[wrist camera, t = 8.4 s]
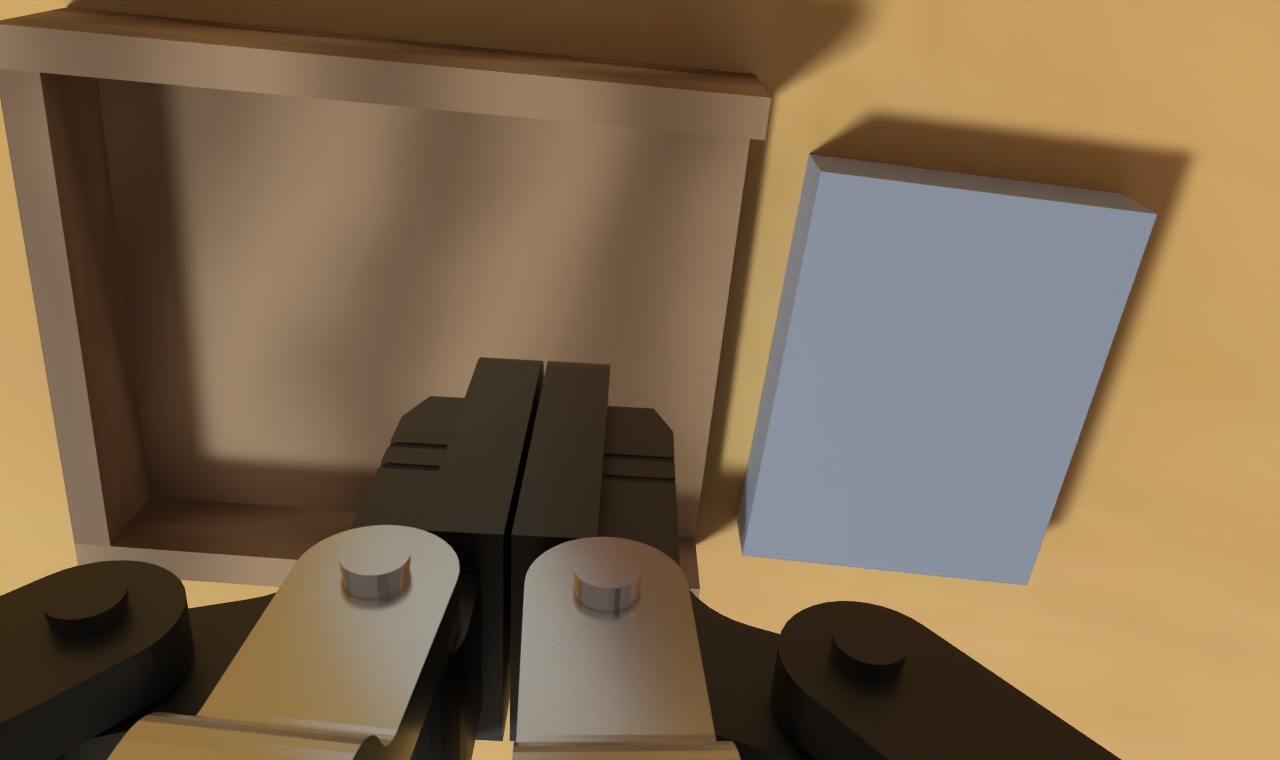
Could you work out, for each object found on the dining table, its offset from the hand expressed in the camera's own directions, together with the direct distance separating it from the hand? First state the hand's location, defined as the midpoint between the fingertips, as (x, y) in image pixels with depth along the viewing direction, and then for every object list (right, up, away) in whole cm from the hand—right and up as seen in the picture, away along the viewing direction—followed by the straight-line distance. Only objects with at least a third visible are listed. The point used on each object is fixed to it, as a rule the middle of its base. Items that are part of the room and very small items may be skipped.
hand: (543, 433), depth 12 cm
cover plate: (+9, +1, +20) cm, 22 cm away
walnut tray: (-6, +3, +18) cm, 19 cm away
